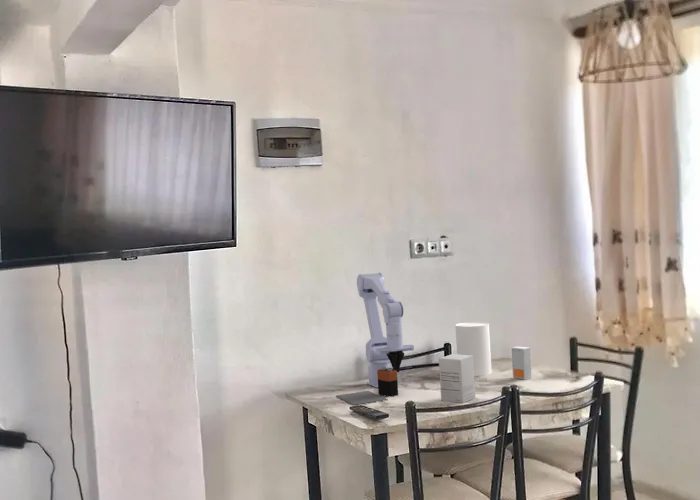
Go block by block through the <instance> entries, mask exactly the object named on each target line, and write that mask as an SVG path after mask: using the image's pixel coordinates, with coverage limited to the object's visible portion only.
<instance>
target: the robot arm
mask: <svg viewBox="0 0 700 500" xmlns="http://www.w3.org/2000/svg"><path fill="white" fill-rule="evenodd" d="M384 285H385V277H384V275H383V273H381V272H377V273H364V274H362V273H358V276H357V278H356V286H357V291H358V295H359V297H360V298H361V299H363V303H364V308H365V313H366V318H367V323H368V329H369V334H370V339H369V340H367V342H366V344H365V357H366V360H367V362H368V363H369V365H368V368H367V369H368V370H367V372H368V381H367V382H366V384H367V385H369V386H372V387H374V388H377V389H378V375H377V370H380V369H382V367H386V369H387V368H392V370H396V371H397V373H400V368H401V364H402V361H403V358H404V356H405V352H408V351H412V352H413V351H415V346H414V345H413V344H405V345H404V344H403V330H402V329H403V328H402V317H403V316H404V307H403V304H402V302H401V301H397V300H396V299H395V297H394V296H393V294H392V293H391V292H390V291H389V290H386V287H385V286H384ZM377 302H378V303H377ZM378 304H379V305H380V307H381V308H382V314H383V315H382V316H383V320H384V323H385V330H386V333H385V335H386V336H384V333H383V328H382V323H381V322H382V321H381V317H380V314H379V313H380V312H379V308H378ZM390 366H391V367H390Z"/></svg>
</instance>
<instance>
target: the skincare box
mask: <svg viewBox="0 0 700 500" xmlns="http://www.w3.org/2000/svg"><path fill="white" fill-rule="evenodd" d="M531 361H532V360H531V347H528V346H518V345H517V346H513V347H511V365H512V366H511V367H512V377H513V379H519V380H524V381H526V380H530V379H532V362H531Z"/></svg>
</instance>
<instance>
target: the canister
mask: <svg viewBox="0 0 700 500" xmlns="http://www.w3.org/2000/svg"><path fill="white" fill-rule="evenodd" d="M490 336H491V334H490V323H489V322H485V321H469V322H460V323H456V324H455V339H456V341H455V343H456V354H458V355H472V356H473V367H474V377H484V375H485V376H488V375H491V374H492V355H491V339H490V338H491V337H490Z"/></svg>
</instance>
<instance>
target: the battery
mask: <svg viewBox="0 0 700 500" xmlns="http://www.w3.org/2000/svg"><path fill="white" fill-rule="evenodd" d="M377 375H378V388H377V389H378V390H377V391H378V395H379V394H381V395H380V396H384V395H385V397H388V396H392V397H395V396H394V395H396V396H398V395H399V383H398V382H399V380H398V372H397V371H396V370H393V368H392V367H390V368H387V369H386V367H382V369H380V370H377Z"/></svg>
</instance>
